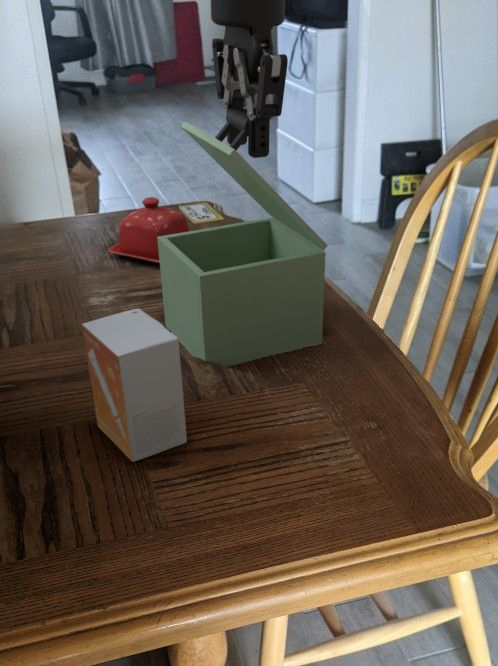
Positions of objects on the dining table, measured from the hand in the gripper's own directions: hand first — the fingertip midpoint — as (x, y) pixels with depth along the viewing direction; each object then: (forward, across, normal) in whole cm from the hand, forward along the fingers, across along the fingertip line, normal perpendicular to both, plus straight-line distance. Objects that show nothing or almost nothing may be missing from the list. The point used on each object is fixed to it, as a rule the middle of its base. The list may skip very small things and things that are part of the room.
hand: (247, 149), depth 87 cm
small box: (+23, +18, -20) cm, 36 cm away
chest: (+23, 0, -1) cm, 23 cm away
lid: (+4, 0, +1) cm, 4 cm away
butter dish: (+23, -32, -1) cm, 39 cm away
